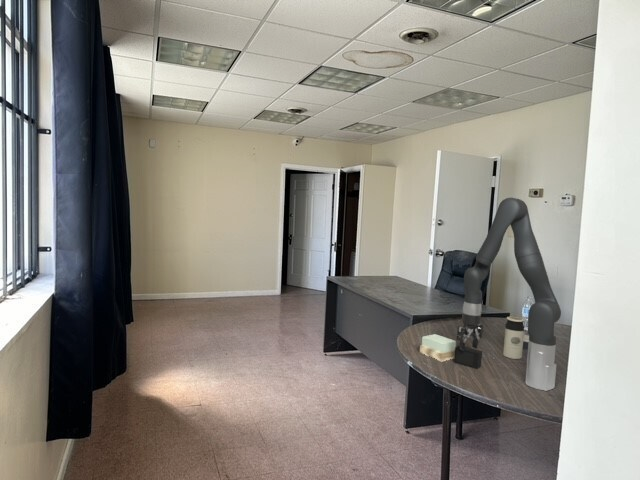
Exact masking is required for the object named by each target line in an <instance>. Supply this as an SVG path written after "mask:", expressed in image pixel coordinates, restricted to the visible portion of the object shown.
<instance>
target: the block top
mask: <svg viewBox="0 0 640 480" xmlns="http://www.w3.org/2000/svg"><path fill="white" fill-rule="evenodd" d="M421 340H422V341H421V345H423V346H425V347H428V348H431V349H433V350H436V351H438V352H441V353H445V352H449V351H453V350H455V347H457V340H454V339H450V338H448V337H445V336H442V335H438V334H435V333H434V334H429V335H424V336H422V337H421Z"/></svg>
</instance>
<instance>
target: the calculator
mask: <svg viewBox="0 0 640 480" xmlns="http://www.w3.org/2000/svg"><path fill="white" fill-rule="evenodd" d="M528 344H529V334H528V335H527V334H524V338H523V349H525V350H528Z"/></svg>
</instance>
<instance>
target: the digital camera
mask: <svg viewBox="0 0 640 480" xmlns="http://www.w3.org/2000/svg"><path fill="white" fill-rule="evenodd" d="M482 357H483V351H482V350H479V349H476V348H471V347H467V346H466V345H465V350H464V351H462V350H460V349H459V345H456V347H455V357H454V359H453V364H454V363H455V364H457V365H460V366H465V367H468V368H471V369H475V370H478V369H480V368H481V367H482V359H483V358H482Z"/></svg>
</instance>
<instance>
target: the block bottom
mask: <svg viewBox="0 0 640 480" xmlns="http://www.w3.org/2000/svg"><path fill="white" fill-rule="evenodd" d="M419 354H422V355H424V354H425V356H427V357H429V356H430V357H429V358H431V357H432V359H434V358H435V359H434V360H436V359H437V360H436V361H439V362H441V363H443V362H445V361H446V360H447V361H451V360H454V357H455V350H453V351H449V352H445V353H441V352H438V351H436V350H433V349H431V348H428V347H425V346H423V345H422V344H420V345H419ZM450 359H451V360H450Z"/></svg>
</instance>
